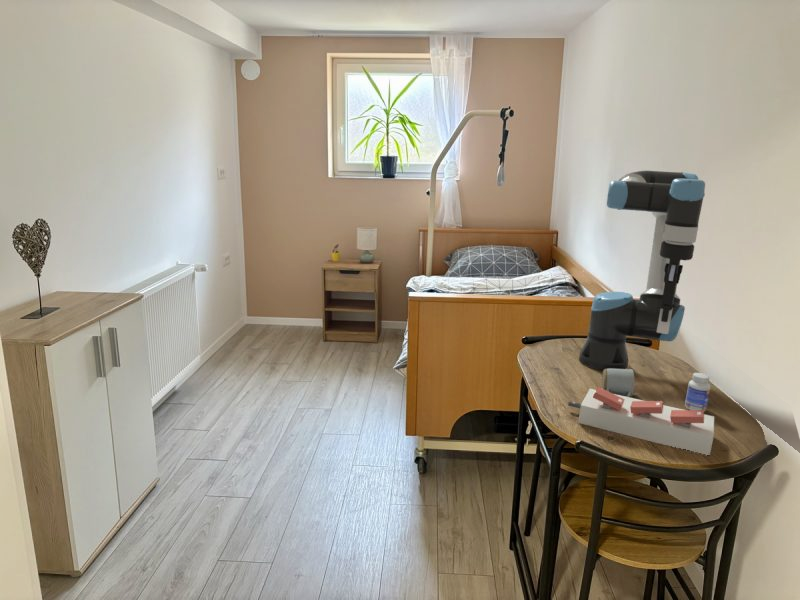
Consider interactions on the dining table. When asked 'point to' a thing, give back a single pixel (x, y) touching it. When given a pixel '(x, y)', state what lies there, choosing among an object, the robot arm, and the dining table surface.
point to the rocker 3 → (687, 416)
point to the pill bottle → (698, 392)
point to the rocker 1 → (608, 398)
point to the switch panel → (647, 424)
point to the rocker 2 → (647, 407)
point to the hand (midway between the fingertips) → (662, 331)
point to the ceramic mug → (618, 381)
